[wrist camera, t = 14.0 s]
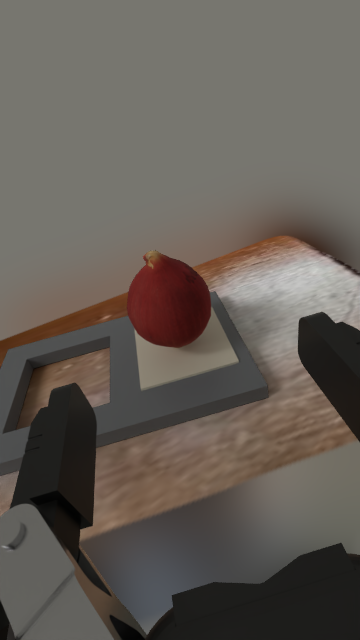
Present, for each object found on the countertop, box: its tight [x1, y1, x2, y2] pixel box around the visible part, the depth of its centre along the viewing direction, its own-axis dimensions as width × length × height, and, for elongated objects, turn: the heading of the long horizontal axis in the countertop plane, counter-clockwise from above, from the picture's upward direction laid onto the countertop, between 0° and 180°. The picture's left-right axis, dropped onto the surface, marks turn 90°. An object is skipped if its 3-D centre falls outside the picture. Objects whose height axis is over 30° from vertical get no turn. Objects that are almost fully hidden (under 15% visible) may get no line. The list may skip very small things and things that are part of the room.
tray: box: [0, 291, 268, 476], centre depth 24 cm, size 20×12×1 cm, turn 101°
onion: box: [127, 250, 211, 348], centre depth 21 cm, size 6×6×8 cm
